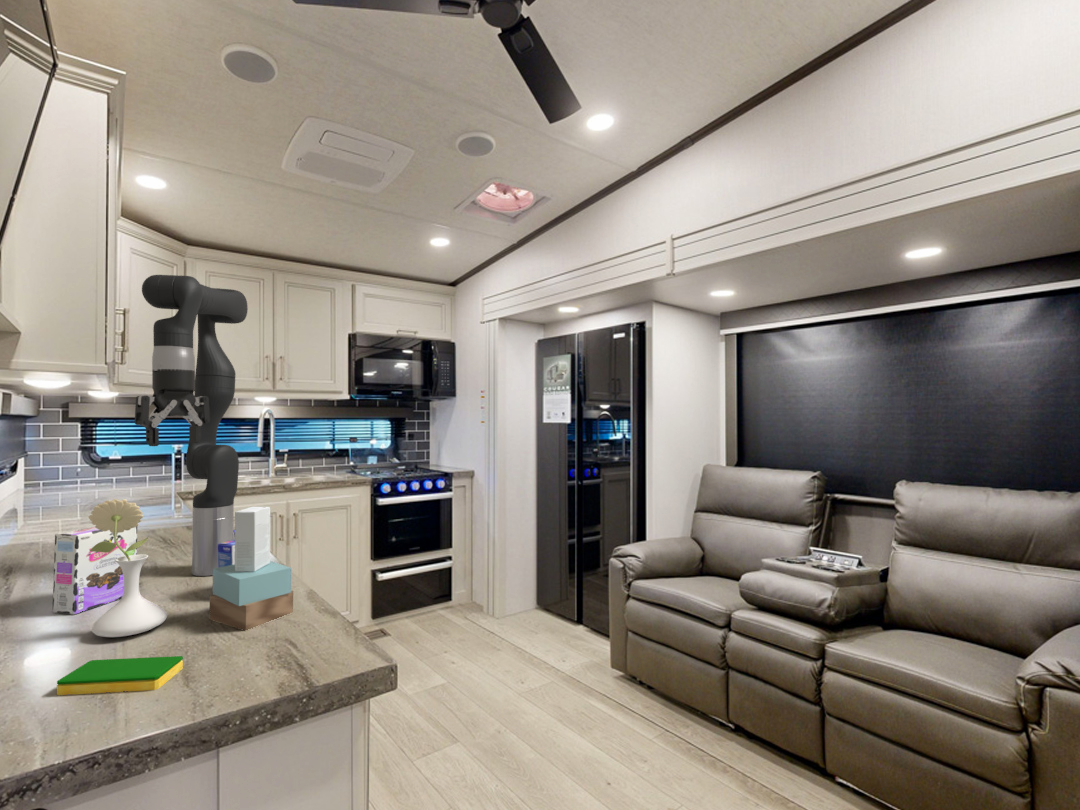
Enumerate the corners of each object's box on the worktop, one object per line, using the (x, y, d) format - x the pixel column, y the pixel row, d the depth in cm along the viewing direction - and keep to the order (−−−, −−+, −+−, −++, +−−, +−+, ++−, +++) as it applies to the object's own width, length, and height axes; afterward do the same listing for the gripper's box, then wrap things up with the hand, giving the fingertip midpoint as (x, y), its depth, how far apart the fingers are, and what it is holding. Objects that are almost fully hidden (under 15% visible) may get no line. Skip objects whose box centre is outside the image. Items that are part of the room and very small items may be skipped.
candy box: (74, 615, 108) (75, 534, 109) (51, 613, 110) (52, 533, 110) (137, 593, 122) (139, 521, 122) (116, 592, 123) (118, 520, 124)
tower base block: (257, 605, 115) (257, 582, 115) (292, 615, 109) (293, 591, 109) (209, 621, 106) (209, 595, 106) (245, 632, 100) (246, 606, 101)
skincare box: (250, 563, 111) (251, 506, 112) (270, 563, 111) (271, 506, 112) (233, 572, 105) (234, 511, 106) (254, 572, 105) (255, 511, 105)
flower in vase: (179, 617, 107) (180, 493, 108) (147, 641, 96) (149, 502, 96) (106, 622, 105) (108, 495, 105) (65, 646, 94) (67, 504, 94)
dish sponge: (157, 692, 79) (157, 676, 79) (54, 698, 77) (55, 681, 77) (183, 670, 86) (184, 655, 86) (90, 674, 84) (91, 659, 84)
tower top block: (263, 581, 116) (263, 558, 116) (291, 592, 108) (291, 567, 108) (212, 593, 108) (212, 568, 108) (239, 606, 100) (239, 579, 100)
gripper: (194, 371, 122) (195, 442, 122) (126, 367, 108) (126, 446, 108) (217, 370, 119) (218, 442, 119) (149, 366, 106) (150, 447, 106)
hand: (174, 444), depth 114 cm, fingers open, 8 cm apart
